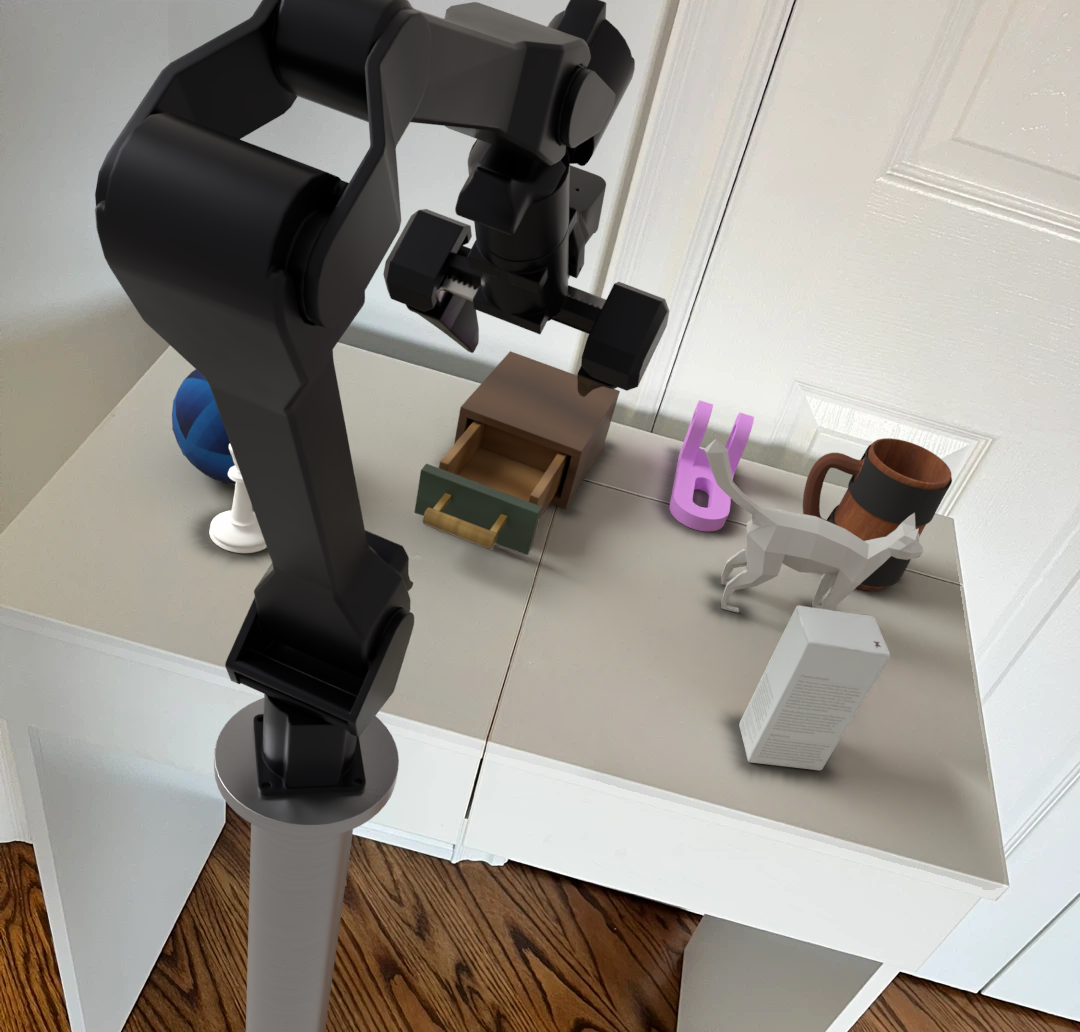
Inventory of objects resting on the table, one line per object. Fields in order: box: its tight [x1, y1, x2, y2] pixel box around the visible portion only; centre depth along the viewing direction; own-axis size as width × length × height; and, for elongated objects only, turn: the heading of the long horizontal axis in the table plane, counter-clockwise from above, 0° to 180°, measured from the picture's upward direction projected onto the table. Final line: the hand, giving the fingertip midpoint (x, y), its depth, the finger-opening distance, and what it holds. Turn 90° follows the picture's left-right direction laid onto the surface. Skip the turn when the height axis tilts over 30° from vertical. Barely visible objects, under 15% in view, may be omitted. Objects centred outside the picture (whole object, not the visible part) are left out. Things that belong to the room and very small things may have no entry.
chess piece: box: [209, 444, 267, 554], centre depth 77 cm, size 5×5×10 cm
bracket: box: [668, 399, 755, 533], centre depth 98 cm, size 13×6×7 cm, turn 169°
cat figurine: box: [704, 438, 924, 614], centre depth 84 cm, size 4×20×14 cm, turn 83°
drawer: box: [414, 420, 570, 556], centre depth 87 cm, size 17×10×4 cm, turn 162°
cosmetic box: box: [738, 604, 892, 771], centre depth 73 cm, size 6×4×12 cm
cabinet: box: [453, 350, 621, 510], centre depth 96 cm, size 14×12×6 cm
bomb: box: [171, 369, 236, 485], centre depth 81 cm, size 10×11×15 cm
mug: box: [802, 437, 953, 592], centre depth 93 cm, size 9×12×12 cm
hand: (529, 369), depth 76 cm, fingers open, 9 cm apart
